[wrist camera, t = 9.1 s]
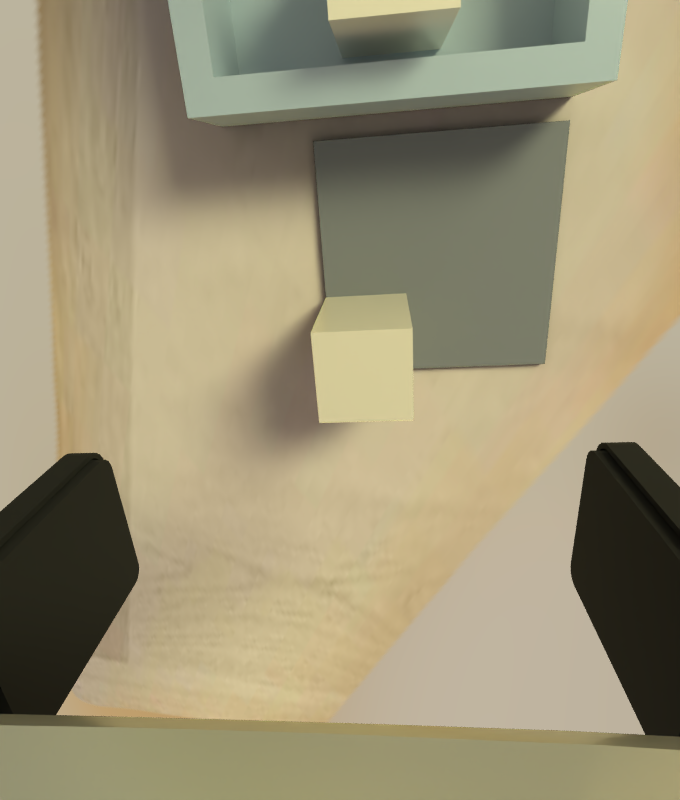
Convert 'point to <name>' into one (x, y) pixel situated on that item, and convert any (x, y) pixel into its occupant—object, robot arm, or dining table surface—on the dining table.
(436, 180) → the dark mat
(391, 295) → the stone
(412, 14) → the stone
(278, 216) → the dining table surface
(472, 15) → the blue bin
